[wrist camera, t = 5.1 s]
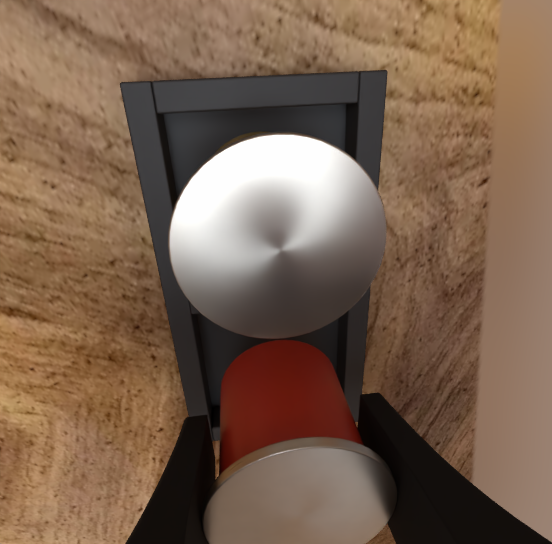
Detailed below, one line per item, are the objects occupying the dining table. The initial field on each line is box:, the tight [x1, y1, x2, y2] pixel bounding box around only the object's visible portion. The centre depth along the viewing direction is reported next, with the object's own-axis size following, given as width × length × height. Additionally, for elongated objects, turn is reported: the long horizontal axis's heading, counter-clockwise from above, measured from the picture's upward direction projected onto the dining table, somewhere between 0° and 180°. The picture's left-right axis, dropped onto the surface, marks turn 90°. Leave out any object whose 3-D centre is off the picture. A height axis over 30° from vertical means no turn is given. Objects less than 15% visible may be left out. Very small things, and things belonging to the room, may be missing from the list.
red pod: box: [202, 340, 397, 544], centre depth 11 cm, size 5×5×5 cm
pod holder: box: [120, 70, 387, 442], centre depth 14 cm, size 7×14×2 cm, turn 2°
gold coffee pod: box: [168, 132, 386, 339], centre depth 10 cm, size 5×5×5 cm
